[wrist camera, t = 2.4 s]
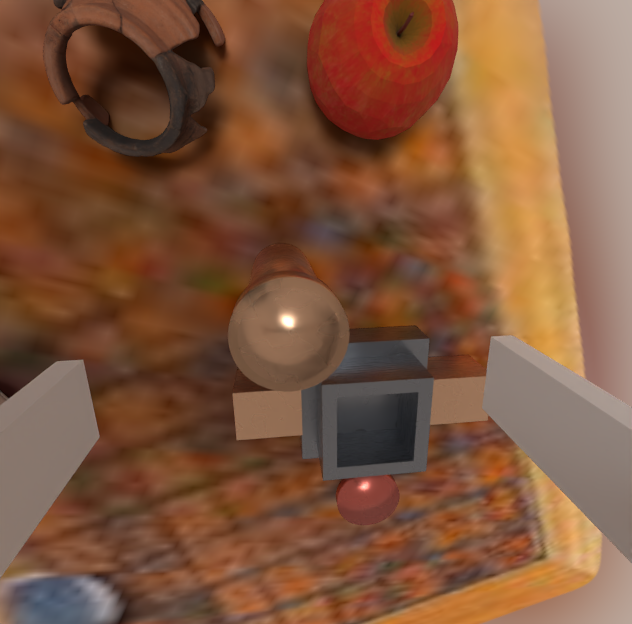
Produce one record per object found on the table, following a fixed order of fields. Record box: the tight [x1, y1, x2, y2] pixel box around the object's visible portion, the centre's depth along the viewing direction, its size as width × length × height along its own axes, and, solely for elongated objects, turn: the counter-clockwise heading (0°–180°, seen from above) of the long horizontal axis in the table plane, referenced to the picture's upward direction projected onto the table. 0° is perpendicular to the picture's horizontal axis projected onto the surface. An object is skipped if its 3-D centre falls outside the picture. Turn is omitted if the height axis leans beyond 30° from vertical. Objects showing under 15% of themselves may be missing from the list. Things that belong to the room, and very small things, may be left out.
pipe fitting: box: [228, 243, 350, 392], centre depth 23 cm, size 5×5×14 cm
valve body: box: [232, 326, 488, 525], centre depth 31 cm, size 20×15×7 cm
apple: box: [307, 0, 458, 140], centre depth 21 cm, size 8×8×11 cm
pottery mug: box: [43, 0, 225, 157], centre depth 22 cm, size 12×10×8 cm
